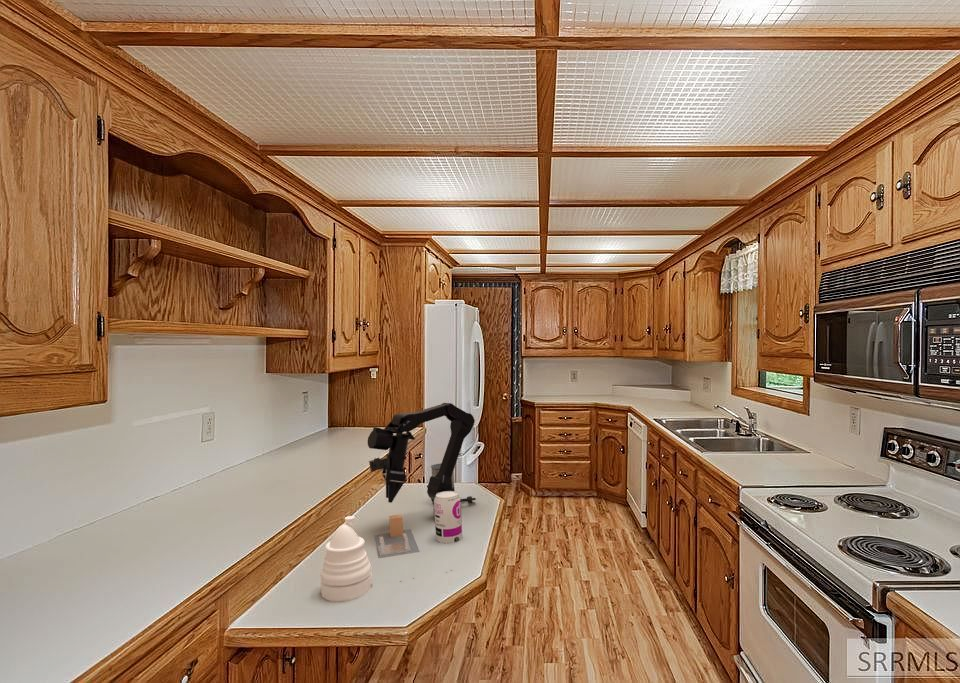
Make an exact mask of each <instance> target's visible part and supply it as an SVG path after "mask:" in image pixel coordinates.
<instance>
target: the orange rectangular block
mask: <svg viewBox="0 0 960 683" xmlns="http://www.w3.org/2000/svg"><path fill="white" fill-rule="evenodd" d="M388 517H389V518H388V519H389V521H388V522H389V523H388V524H389V532H390V536H391V538H392V537H398V536H403V530H404V521H403V520H404V519H403V515H402V514H395V515H389V516H388Z"/></svg>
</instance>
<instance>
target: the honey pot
mask: <svg viewBox="0 0 960 683" xmlns="http://www.w3.org/2000/svg"><path fill="white" fill-rule="evenodd" d="M355 518H356V517H355V515H348V516H345V517H344V521H345V523H344V524H341V525H340V526H339V527H337V529H336V530H335V531H334V533H333V535H332V536H331V539H330V541H328V542H327V543H326V544H325V545H324V546H325V547H324V549H325V551H326V554H325V557H324V560H323V564H322V569H321V571H320V588H321V590H320V591H321V596H322V598H323V599H325V600H327V601H330V602H345V601H351V600H355V599H358V598H360V597H363V596H364V595H366V594H368V593H369V592H370V591H371V590H372V588H373V574H372V573H373V572H372V571H373V570H372V564H371V562H370V560H369V556H368V555H367V551H366V550H365V548H364V545H365V539H364V538H363V537H361V536H359V535H358V534H357V533H356V531H355V530H354V529H353V527H351V526H352V525H353V524H354V523H355Z"/></svg>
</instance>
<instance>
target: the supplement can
mask: <svg viewBox="0 0 960 683" xmlns="http://www.w3.org/2000/svg"><path fill="white" fill-rule="evenodd" d="M460 499H461V497H460V496H459V493H458V492H457V491H455V492H454V491H444V492H440V493H437V494H436V497H435V499H434V505H433V512H434V511H435V519H434V524H435V540H436V542H437V543H440V544H454V543H457V542H460V541H461V540H462V539H463V527H462V526H463V525H462V524H463V522H462V521H463V520H462V510H461V509H462V508H461V505H462V504H461V502H460Z"/></svg>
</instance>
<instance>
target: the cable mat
mask: <svg viewBox="0 0 960 683" xmlns="http://www.w3.org/2000/svg"><path fill="white" fill-rule="evenodd" d="M403 533H406V535H407V538H408V544H409V547H410V550H411V552H406V553H400V554H394V555H387V556H381V557H380V554H379V549H378V546H380V538H379V537H381V536H383V539H384V545H389V544H396V543H402V542H403V536H398V537H392V538H391V536H390V531H389V532H382V533H376V534H373V536H374V541H375V546H376V547H375V548H376V551H377V552H376V553H377V557H378V559H383V558H389V557H395V556H402V555H409V554H414V553H420V552H421V551H420V549H419V546H418V544H417V542H416V539H415V536H414V533H413V532H412V529H411V528H410V529H403Z"/></svg>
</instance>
